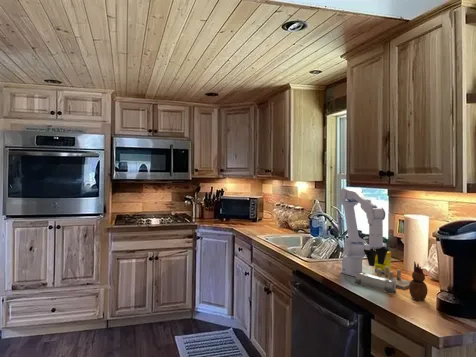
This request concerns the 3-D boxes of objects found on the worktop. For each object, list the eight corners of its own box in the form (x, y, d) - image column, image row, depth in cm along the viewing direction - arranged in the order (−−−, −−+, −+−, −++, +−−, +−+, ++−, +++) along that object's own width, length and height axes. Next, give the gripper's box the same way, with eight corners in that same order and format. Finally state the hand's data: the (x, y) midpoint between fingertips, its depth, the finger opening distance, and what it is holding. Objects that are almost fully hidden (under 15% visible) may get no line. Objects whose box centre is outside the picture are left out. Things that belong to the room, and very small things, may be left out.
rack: (363, 278, 170) (363, 266, 170) (375, 274, 177) (375, 263, 177) (403, 289, 154) (404, 276, 154) (415, 285, 161) (416, 272, 161)
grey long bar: (353, 282, 163) (353, 272, 163) (358, 280, 166) (359, 271, 166) (392, 293, 148) (392, 283, 148) (397, 291, 151) (398, 281, 151)
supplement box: (374, 272, 182) (374, 251, 182) (379, 270, 186) (379, 249, 186) (385, 274, 178) (386, 253, 177) (390, 272, 182) (391, 251, 182)
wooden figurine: (406, 296, 145) (407, 260, 145) (419, 296, 146) (420, 260, 146) (415, 302, 139) (416, 264, 138) (429, 302, 139) (430, 264, 139)
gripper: (375, 236, 150) (375, 268, 149) (392, 234, 159) (393, 264, 158) (360, 234, 156) (361, 265, 155) (378, 233, 165) (378, 262, 164)
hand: (376, 265), depth 157 cm, fingers open, 7 cm apart
